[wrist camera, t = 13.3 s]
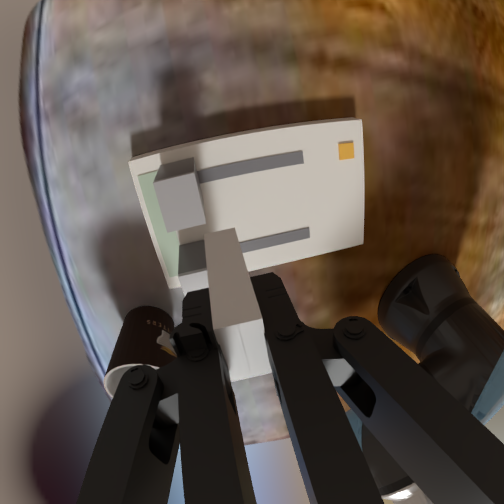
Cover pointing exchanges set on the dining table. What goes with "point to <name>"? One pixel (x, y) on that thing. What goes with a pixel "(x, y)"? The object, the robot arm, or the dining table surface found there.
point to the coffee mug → (140, 344)
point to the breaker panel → (266, 191)
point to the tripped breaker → (179, 195)
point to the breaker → (192, 266)
